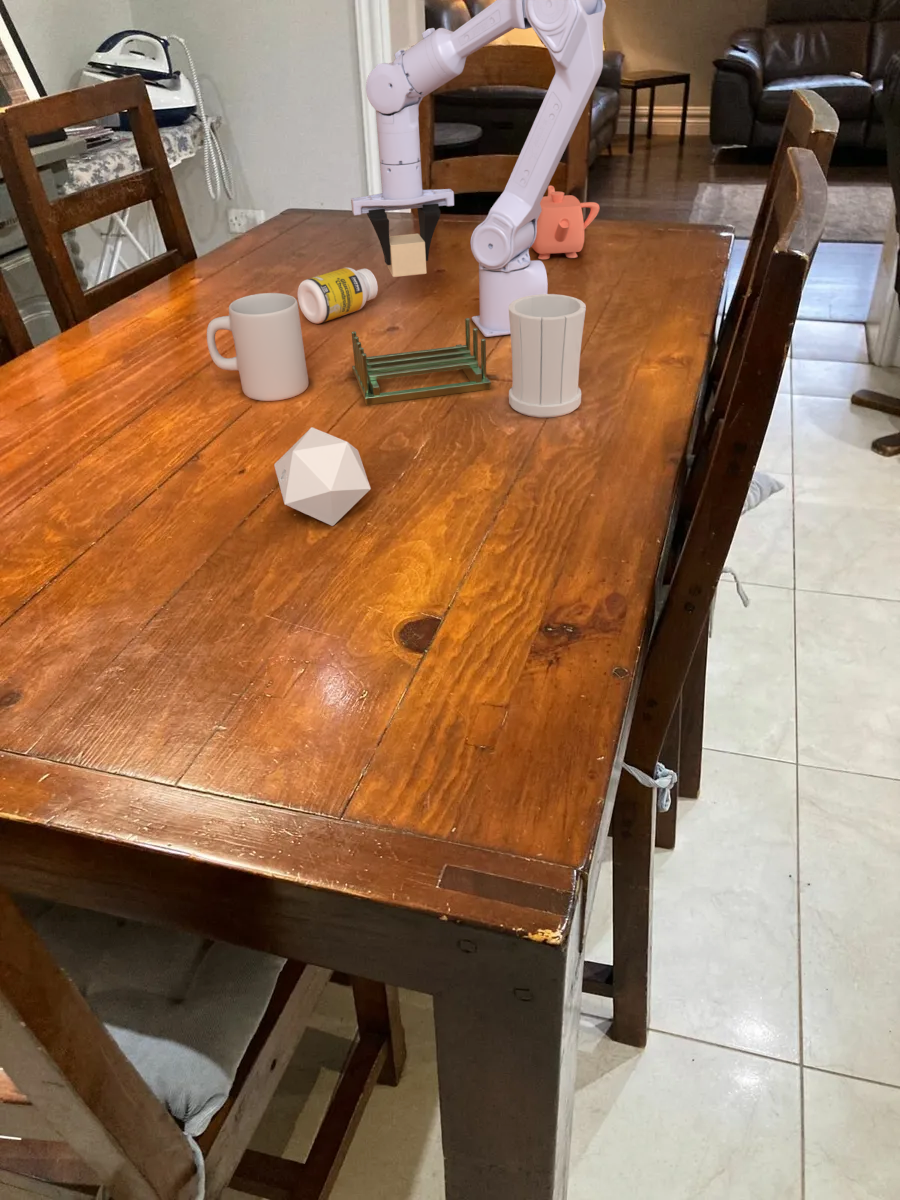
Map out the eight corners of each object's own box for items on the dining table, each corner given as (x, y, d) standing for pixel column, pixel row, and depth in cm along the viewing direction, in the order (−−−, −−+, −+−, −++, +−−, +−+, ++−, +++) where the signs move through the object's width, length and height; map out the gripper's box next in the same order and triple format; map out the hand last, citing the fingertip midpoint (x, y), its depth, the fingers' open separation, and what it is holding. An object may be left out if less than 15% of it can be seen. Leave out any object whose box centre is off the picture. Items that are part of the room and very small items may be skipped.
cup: (490, 392, 117) (489, 297, 110) (554, 379, 120) (557, 285, 113) (528, 425, 109) (530, 323, 102) (596, 409, 112) (602, 310, 105)
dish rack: (469, 358, 127) (468, 314, 123) (490, 389, 118) (490, 343, 114) (352, 372, 124) (348, 328, 120) (366, 405, 115) (361, 358, 112)
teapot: (609, 253, 164) (612, 191, 158) (563, 268, 158) (565, 205, 152) (549, 239, 173) (550, 180, 167) (503, 253, 167) (503, 192, 161)
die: (305, 490, 99) (247, 442, 91) (374, 448, 97) (321, 395, 89) (322, 552, 95) (263, 508, 87) (396, 509, 93) (342, 459, 85)
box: (420, 264, 141) (418, 233, 138) (426, 273, 137) (424, 241, 134) (387, 267, 140) (385, 236, 138) (393, 277, 136) (390, 245, 134)
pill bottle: (310, 274, 135) (371, 255, 141) (289, 288, 140) (348, 269, 146) (328, 318, 136) (387, 297, 143) (307, 330, 141) (365, 309, 148)
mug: (313, 374, 124) (302, 291, 118) (304, 400, 117) (292, 313, 111) (223, 377, 124) (207, 294, 118) (209, 403, 117) (192, 317, 111)
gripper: (444, 151, 134) (448, 249, 142) (344, 160, 132) (354, 259, 140) (456, 160, 128) (459, 261, 136) (351, 169, 126) (361, 272, 134)
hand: (406, 261), depth 138 cm, fingers closed on box, 5 cm apart
